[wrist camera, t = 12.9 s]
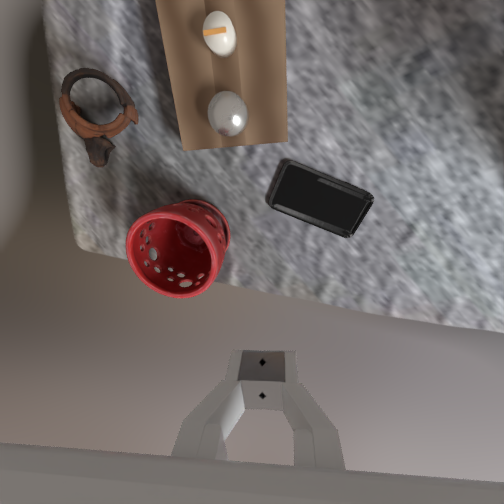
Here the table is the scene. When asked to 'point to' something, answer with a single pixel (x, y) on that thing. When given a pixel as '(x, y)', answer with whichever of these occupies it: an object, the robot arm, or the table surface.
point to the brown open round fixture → (89, 131)
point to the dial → (219, 34)
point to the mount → (227, 69)
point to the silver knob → (228, 114)
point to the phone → (320, 199)
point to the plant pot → (179, 247)
